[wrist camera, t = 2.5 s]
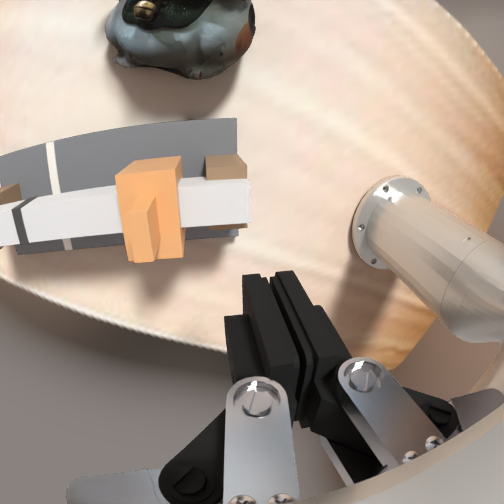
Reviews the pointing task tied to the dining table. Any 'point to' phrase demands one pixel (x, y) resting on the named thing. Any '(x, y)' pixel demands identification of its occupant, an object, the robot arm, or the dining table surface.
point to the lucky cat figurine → (181, 34)
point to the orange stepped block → (151, 209)
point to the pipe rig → (104, 185)
